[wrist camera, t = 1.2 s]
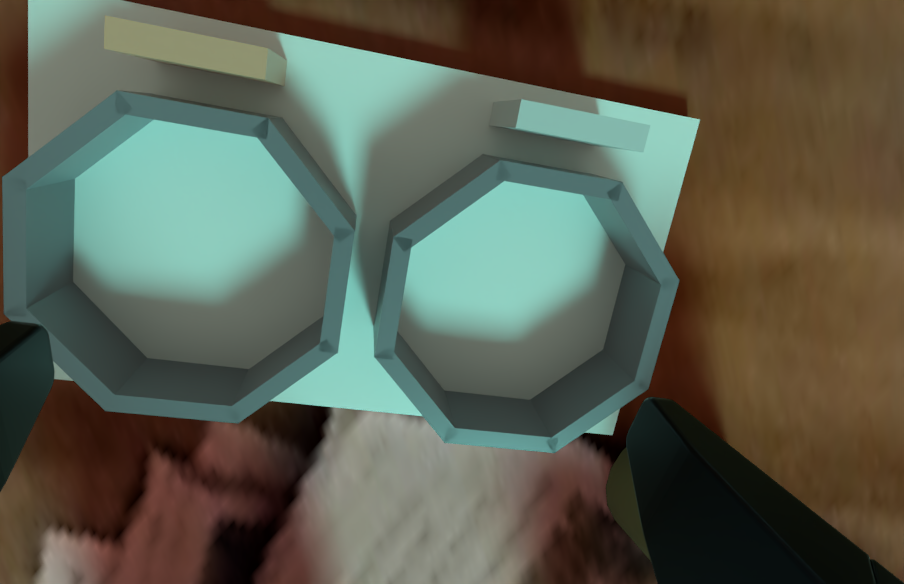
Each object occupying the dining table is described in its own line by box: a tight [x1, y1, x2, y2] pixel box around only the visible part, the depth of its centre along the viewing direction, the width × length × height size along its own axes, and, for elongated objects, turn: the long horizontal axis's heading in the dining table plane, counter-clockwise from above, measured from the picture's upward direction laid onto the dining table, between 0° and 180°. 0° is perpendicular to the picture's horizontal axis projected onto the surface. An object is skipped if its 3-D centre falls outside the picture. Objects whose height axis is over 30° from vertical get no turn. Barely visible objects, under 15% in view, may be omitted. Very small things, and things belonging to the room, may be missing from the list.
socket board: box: [2, 0, 700, 453], centre depth 20 cm, size 13×22×5 cm, turn 79°
